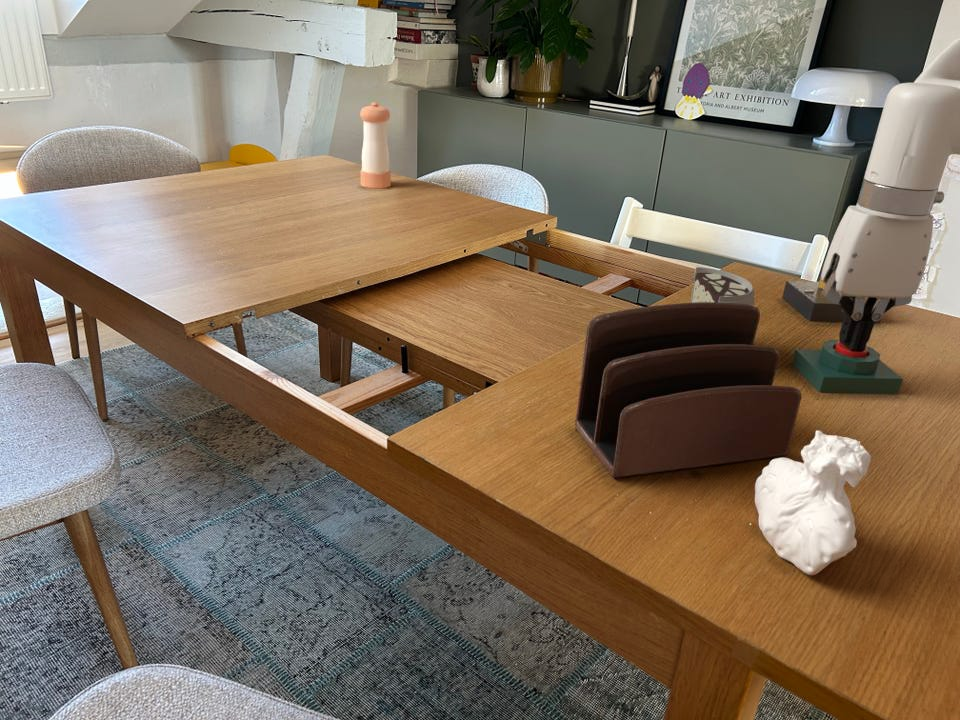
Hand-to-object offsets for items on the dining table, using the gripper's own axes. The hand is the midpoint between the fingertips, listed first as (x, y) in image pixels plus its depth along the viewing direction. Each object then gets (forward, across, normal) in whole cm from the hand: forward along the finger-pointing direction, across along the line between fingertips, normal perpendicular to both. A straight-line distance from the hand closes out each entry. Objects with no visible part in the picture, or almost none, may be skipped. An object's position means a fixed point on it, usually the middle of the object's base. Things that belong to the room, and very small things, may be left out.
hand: (851, 346), depth 91 cm
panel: (+4, -10, -24) cm, 26 cm away
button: (+2, 0, 0) cm, 2 cm away
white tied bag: (+5, +20, +32) cm, 38 cm away
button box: (+5, 0, 0) cm, 5 cm away
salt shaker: (+5, +67, -100) cm, 120 cm away
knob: (+1, -10, -24) cm, 26 cm away
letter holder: (+5, +26, +16) cm, 31 cm away
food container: (+5, +14, -7) cm, 16 cm away
